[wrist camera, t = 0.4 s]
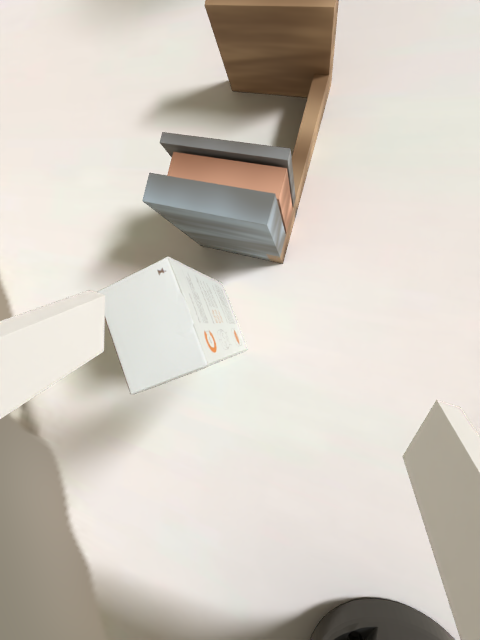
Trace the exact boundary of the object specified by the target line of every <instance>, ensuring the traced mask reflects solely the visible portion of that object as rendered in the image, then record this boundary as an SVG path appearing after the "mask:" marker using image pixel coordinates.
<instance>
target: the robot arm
mask: <svg viewBox="0 0 480 640" xmlns="http://www.w3.org/2000/svg"><path fill="white" fill-rule="evenodd" d="M104 327H105V295H104V294H100V293H97V292H94V291H91V290H88V291H85V292H82V293H79V294H77V295H74V296H71V297H68V298H65V299H62V300H59V301H57V302H54V303H51V304H48V305H45V306H42V307H40V308H37V309H34V310H31V311H28V312H25V313H22V314H20V315H17V316H14V317H11V318H8V319H5V320H2V321H0V419H1V418H3V417H4V416H6V415H7V414H9V413H10V412H12V411H13V410H15V409H16V408H18V407H19V406H21V405H23V404H24V403H26V402H27V401H29V400H30V399H32V398H33V397H35V396H36V395H38V394H39V393H41V392H42V391H44V390H46V389H47V388H49V387H50V386H52V385H53V384H55V383H56V382H58V381H59V380H61V379H62V378H64V377H65V376H67V375H69V374H70V373H72V372H73V371H75V370H76V369H78V368H79V367H81V366H82V365H84V364H85V363H87V362H88V361H90V360H92V359H93V358H95V357H96V356H98V355H99V354H101V353H102V352H104ZM403 459H404V462H405V466H406V469H407V472H408V475H409V478H410V481H411V484H412V488H413V491H414V494H415V497H416V500H417V503H418V507H419V510H420V513H421V516H422V519H423V522H424V525H425V529H426V532H427V535H428V538H429V541H430V544H431V548H432V551H433V554H434V557H435V560H436V563H437V566H438V570H439V573H440V576H441V579H442V582H443V585H444V589H445V592H446V595H447V598H448V601H449V604H450V607H451V611H452V614H453V617H454V620H455V623H456V626H457V630H458V633H459V636H460V639H461V640H480V435H479V434H478V432H477V431H476V430H475V428H474V427H473V425H472V424H471V422H470V421H469V419H468V418H467V416H466V415H465V413H464V412H463V411H462V409H461V408H460V407H458V406H455V405H452V404H448V403H445V402H442V401H439V400H436V402H435V403H434V405H433V407H432V408H431V410H430V412H429V413H428V415H427V417H426V418H425V420H424V422H423V423H422V425H421V427H420V428H419V430H418V432H417V433H416V435H415V437H414V438H413V440H412V442H411V443H410V445H409V447H408V448H407V450H406V452H405V453H404V455H403ZM311 640H455V639H454V638H453V637H452V636H451V635H450V634H449V633H448V632H447V631H446V630H445V629H444V628H443V627H441V626H440V625H439V624H438V623H436V622H435V621H434V620H432V619H431V618H429V617H428V616H426V615H425V614H423V613H421V612H419V611H417V610H415V609H413V608H411V607H409V606H406V605H403V604H400V603H397V602H393V601H389V600H382V599H360V600H355V601H351V602H348V603H345V604H343V605H340V606H338V607H337V608H335V609H333V610H332V611H330V612H329V613H328V614H327V615H326V616H325V617H324V618H323V619H322V620H321V621H320V622H319V624H318V625H317V627H316V628H315V630H314V632H313V634H312V637H311Z"/></svg>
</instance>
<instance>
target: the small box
mask: <svg viewBox="0 0 480 640" xmlns="http://www.w3.org/2000/svg"><path fill="white" fill-rule="evenodd" d="M97 293H100V294H104V295H105V320H106V323H107V326H108V329H109V331H110V334H111V337H112V340H113V343H114V346H115V349H116V352H117V355H118V358H119V361H120V364H121V367H122V370H123V373H124V376H125V379H126V382H127V385H128V388H129V390H130V394H137V393H139V392H142V391H145V390H148V389H151V388H153V387H156V386H159V385H161V384H164V383H167V382H169V381H172V380H175V379H177V378H180V377H183V376H185V375H188V374H190V373H193V372H196V371H199V370H201V369H204V368H206V367H208V366H210V365H213V364H215V363H217V362H220V361H222V360H225V359H227V358H230V357H232V356H235V355H237V354H240V353H242V352H245V351H246V350H248V347H247V344H246V342H245V339H244V336H243V334H242V331H241V329H240V326H239V323H238V321H237V318H236V316H235V313H234V311H233V308H232V306H231V303H230V300H229V298H228V295H227V293H226V290H225V288H224V286H223V283H221V282H219V281H217V280H215V279H213V278H211V277H209V276H207V275H205V274H203V273H201V272H199V271H197V270H195V269H193V268H191V267H189V266H187V265H185V264H183V263H181V262H179V261H176V260H174V259H172V258H171V257H169V256H167V257H165V258H163V259H162V260H160V261H158V262H156V263H154V264H152V265H150V266H148V267H146V268H144V269H142V270H140V271H138V272H136V273H134V274H132V275H130V276H128V277H126V278H124V279H122V280H120V281H118V282H116V283H114V284H112V285H110V286H108V287H106V288H104V289H102V290H100V291H97Z"/></svg>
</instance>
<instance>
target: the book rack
mask: <svg viewBox="0 0 480 640" xmlns="http://www.w3.org/2000/svg"><path fill="white" fill-rule="evenodd" d="M338 1H339V0H206V1H205V8H206V11H207V14H208V17H209V20H210V23H211V26H212V29H213V32H214V36H215V39H216V42H217V45H218V48H219V51H220V54H221V57H222V60H223V63H224V66H225V70H226V73H227V76H228V79H229V82H230V85H231V88H232V91H238V92H250V93H261V94H273V95H284V96H296V97H307V98H308V99H307V103H306V106H305V110H304V114H303V118H302V121H301V125H300V129H299V132H298V136H297V140H296V144H295V147H294V151H293V155H292V157H291V149H290V148H282V147H274V146H267V145H259V144H251V143H243V142H235V141H228V140H220V139H212V138H204V137H196V136H189V135H181V134H173V133H165V132H162V136H161V139H160V143H161V145H162V146H163V147H164V148H165V150H166V151H167V152H168V153H169V155H170V156H171V157H172V159H171V163H170V167H169V171H168V175H167V176H166V175H160V174H154V173H149V177H148V181H147V185H146V189H145V193H144V197H143V202H144V203H146V204H147V205H148V206H150V207H151V208H152V209H154V210H155V211H156V212H158V213H159V214H160V215H161V216H163V217H164V218H165V219H167V220H168V221H169V222H171V223H172V224H173V225H175V226H176V227H177V228H179V229H180V230H181V231H182V232H184V233H185V234H186V235H188V236H189V237H190V238H192V239H193V240H194V241H196V242H197V243H198V244H200V245H201V246H205V247H210V248H214V249H219V250H223V251H228V252H232V253H237V254H241V255H246V256H250V257H255V258H259V259H264V260H269V261H273V262H278V263H282V264H283V261H284V257H285V254H286V250H287V246H288V243H289V239H290V235H291V231H292V228H293V224H294V220H295V217H296V213H297V209H298V205H299V202H300V198H301V194H302V191H303V187H304V183H305V180H306V176H307V172H308V168H309V165H310V161H311V157H312V154H313V150H314V146H315V142H316V139H317V135H318V131H319V128H320V124H321V120H322V116H323V113H324V109H325V105H326V102H327V98H328V94H329V90H330V87H331V79H332V68H333V57H334V46H335V35H336V24H337V12H338Z"/></svg>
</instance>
